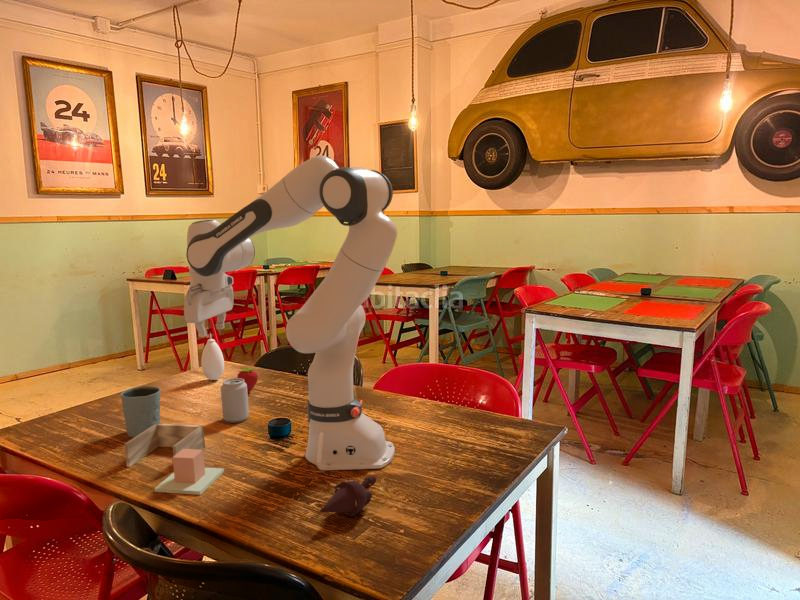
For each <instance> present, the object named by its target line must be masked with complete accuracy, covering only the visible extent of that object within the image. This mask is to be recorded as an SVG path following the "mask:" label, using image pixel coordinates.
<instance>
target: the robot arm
mask: <svg viewBox="0 0 800 600" xmlns="http://www.w3.org/2000/svg"><path fill="white" fill-rule="evenodd" d="M393 190H394V189H393V185H392V183H391V181H390V180H389V178H388V177H387V176H386V175H385V174H383V173H382V172H380V171H379V170H374V169H367V168H364V167H360V166H353V167H352V166H351V167H349V166H342V167H339V166H338V164H337V163H336V162H335V161H334V160H333V159H331V157H328V156H326V155H322V154H321V155H315V156H312V157H311V158H309V159H307V160H305V161H304V162H301V164H299V165H297V166H296V167H294V168H293V169H292V170H290V171H289V172H288V173H287V174H286V175H284V176H283V177H282V178H281V179H279V181H278V182H276V183H275V184H274V185H273V186H271V187H270V188H269V189H268V190H266V191H265V192H264V193H262V194H261V195H259V196H258V197H257V198H255V200H253V201H252V202H250V203H249V204H247V205H246V206H244V207H242V208H241V209H239V210H238V211H237V212H235V213H234V214H233V215H231V216H230V217H228V218H227V219H226V220H224V221H223V222H222V223H220V222H219V221H218V220H215V219H205V220H199V221H198V220H197V221H195V222H192V223H191V224H190V225H188V228H187V235H186V236H187V237H186V247H187V248H186V253H185V254H186V255H185V256H186V260H187V263H188V265H189V269H188V270H189V272H188V274H189V283H190V285H189V287H188V290H187V291H186V294H185V296H184V300H183V303H184V304H183V315H184V320H185V322H186V323H188V324H194V327H195V328H196V330H197V336H198V338H205V337H207V336H208V329H206V327H205V324H206V322H205V321H206V320H209V319H211V318H213V317H214V318H215V317H217V319H216V320H217V321H216V322H215V329H216V330H217V331H218V330H219V331H220V330H223V329H225V320H226V317H227V312H230V311H232V310H233V307H234V289H233V288H234V287H233V286H232V285H233V284H234V277H233V276H232V275H228V274H226V272H228V273H229V272H233V271H238V270H242V269H245V268H247V267H249V266H251V264H252V263H253V261H254V259H255V256H256V255H255V252H256V251H255V246H254V242H253V241H252V239H251V237H253V236H255V235H257V234H261V233H263V232H267V231H272V230H277V229H278V230H279V229H284V228H289V227H290V228H291V227H294V226H297V225H299V224H301V223H303V222H304V221H307V220H309V218H311V217H312V216H314V215H315V214H316V213H318V212H319V211H320V210H321V209H322V208H323V207H324V208H325V209H326V211H328V212H329V213H330V214H331V215H333V216H334V217H335V218H336V220H337V221H338V222H339V223H340V225H342V226H344V227H345V226H346V227H348V233H347V235H346V237H345V239H344V241H343V243H342V245H341V247H340V248H339V251H338V253H337V255H336V257H335V259H334V261H333V263H332V265H331V266H330V268H329V270H328V272H327V274H326V275H325V277H324V278H323V280H322V281H321V282H320V284H319V285H318V286H317V288H316V289H315V290H314V291H313V292H312V294H311V295H310V296H309V297H308V299H307V300H306V301H305V303H304V304H303V305H302V306H301V307H300V309H299V310H298V311H296V312H295V313H294V314H293V315H292V316H291V317H290V318H289V319H288V321H287V323H286V328H285V334H286V338H287V340H288V343H289V345H290V346H291V347H292V349H294V350H295V351H297V352H298V353H300V354H314V353H315V354H314V357H313V360H312V362H311V364H310V365H309V368H308V370H307V386H308V400H307V407H306V408H307V410H306V411H307V413H306V414H307V418H308V419H307V420H308V421H307V422H308V423H309V429H308V431H309V432H308V441H307V446H306V451H305V454H304V456H305V459H306V460H307V461H308V462H309V463H312V464H313V465H315V466H316V468H318V470H319V471H340V470H341V471H343V470H345V471H346V470H347V471H348V470H370V469H371V470H372V469H382V468H385V467H386V466H387V465H388V464H390V463H391V462H392V461H393V459H394V457H395V452H396V449H395V445H394V443H393V442H391V441H388V440H386V436H385V432H384V431H385V430H384V429H383V426H381V425H380V424H379V423H377V422H376V421H374V420H373V419H371V418H370V417H369V416H368V415H366V414H364V413H363V399H360V401H359V400H358V399H356V398H355V397H354V366H355V365H354V363H355V358H356V357H355V356H356V353H357V352H356V351H357V347H358V342H359V337H360V335H361V332H362V330H363V328H364V327H365V325H366V317H367V315H366V312H365V309H364V307H363V305H362V304H363V303H364V302H365V301H366V300H367V299H368V298H369V297H370V295H371V294H372V291H373V290H374V288H375V286H376V284H377V283H378V281H379V279H380V277H381V275H382V273H383V271H384V269H385V268H386V267H387V264H388V262H389V259H390V257H391V256H392V252H393V249H394V246H395V244H396V240H397V237H398V229H397V226H396V224H395V223H394V221H393V220H392V219H391V218H390V217H389V216H387V215H386V214H384V211H385V210H386V209H387V208H388V207H389V206H390V204H391V202H392V199H393V195H394V191H393Z"/></svg>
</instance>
